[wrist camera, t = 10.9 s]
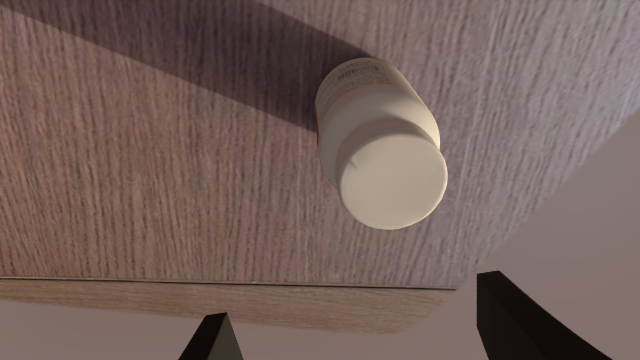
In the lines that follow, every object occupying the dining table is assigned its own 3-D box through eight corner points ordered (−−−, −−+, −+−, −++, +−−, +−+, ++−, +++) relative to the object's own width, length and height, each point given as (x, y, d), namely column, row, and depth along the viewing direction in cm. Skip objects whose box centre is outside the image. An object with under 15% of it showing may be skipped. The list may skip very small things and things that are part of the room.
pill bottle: (296, 118, 21) (295, 205, 14) (350, 36, 19) (378, 89, 12) (372, 163, 22) (405, 263, 15) (429, 90, 21) (494, 165, 14)
